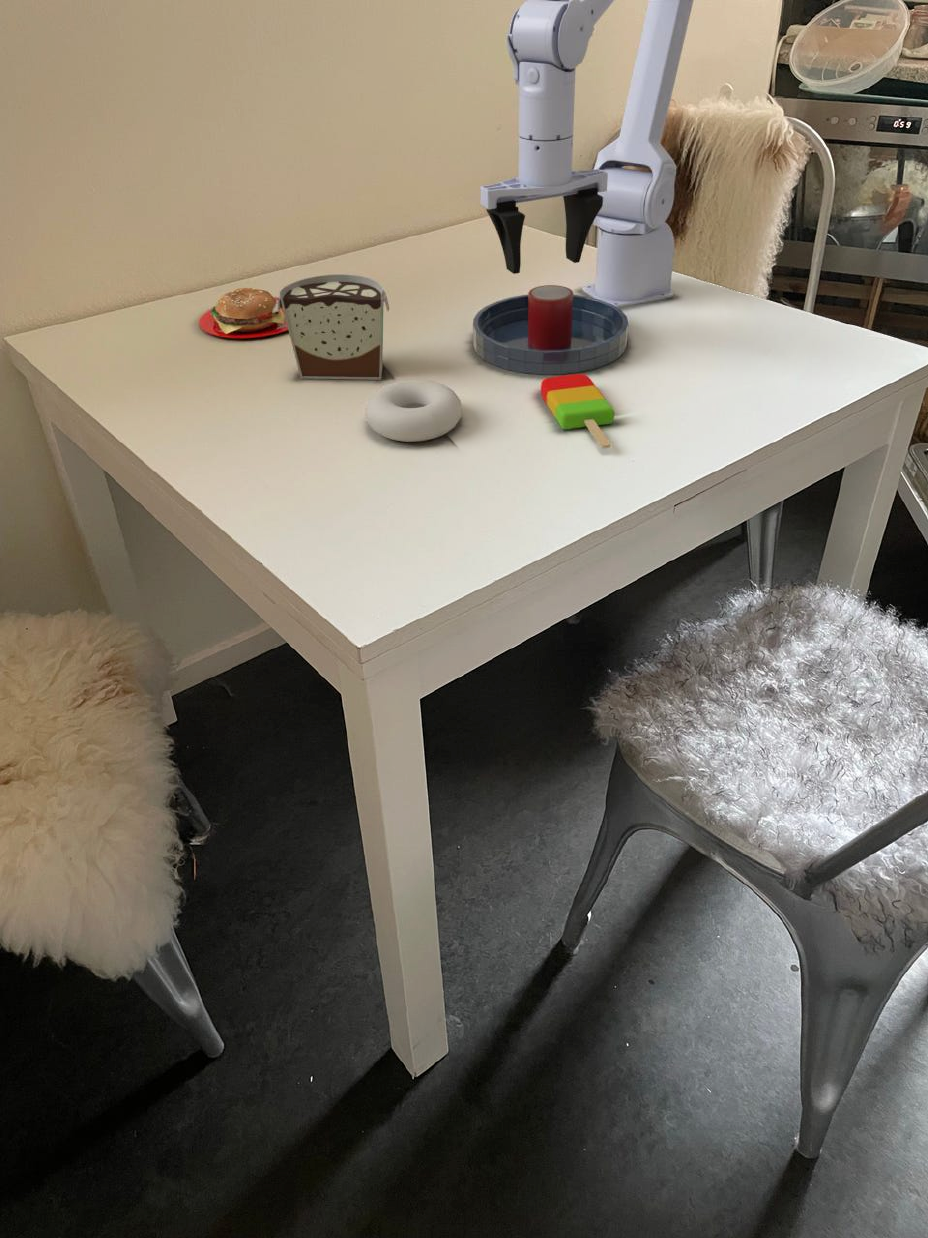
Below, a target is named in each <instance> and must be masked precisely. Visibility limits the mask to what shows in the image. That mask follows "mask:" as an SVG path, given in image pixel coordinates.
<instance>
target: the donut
mask: <svg viewBox="0 0 928 1238" xmlns="http://www.w3.org/2000/svg"><path fill="white" fill-rule="evenodd" d="M462 408H463V407H462V401H461V399H460V397H459V396H458V394H457V393H456V392H455V390H453V389H452V388H450V387H448V386H447V385H445V384H443V383H440V382H438V381H437V382H436V381H433V380H424V379H407V380H401V381H396V382H395V381H394V382H393V383H390V384H387V385H384V386H382V387H380V388H379V389H377V390H376V391H374V392H373V394H372V395H370V397H369V398H368V400H367V402H366V406H365V419H366V421H367V423H368V424H369V426H370V428H371V429H372V431H374V432H375V433H377V434H378V435H380V436H382V437H383V438H387V439H389V440H392V441H398V442H406V443H412V442H413V443H414V442H425V441H429V440H434V439H436V438H439V437H443V436H444V435H446V434H448V433H449V432H450V431H452V430H453V429H454V428H455V427H456V425H457V424H458V423H459V421H460V419H461V418H462V411H463V410H462Z"/></svg>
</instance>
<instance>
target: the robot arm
mask: <svg viewBox="0 0 928 1238" xmlns="http://www.w3.org/2000/svg"><path fill="white" fill-rule="evenodd" d="M614 1H615V0H526V1H524V2H523V3H522V4H521V5H520V6H519V7H517V8H516V10H515V11H514V13H513V14H512V17H511V19H510V22H509V23H510V24H509V29H508V34H507V35H506V45H507V51H508V55H509V57H510V60H511V61H512V65H513V80H515V81H514V83H515V85H517V86H518V176H517V177H513V178H510V179H506V180H502V181H500V182H496V183H492V184H488V185H482V186H481V185H480V188H479V189H480V206H482V207H483V208H485V210H486V213H487V215H488V216H489V218H490V220H491V222H492V224H493V226H494V228H495V231H496V234H497V237H498V239H499V242H500V245H501V249H502V253H503V257H504V261H505V262H504V263H505V267H506V270H507V271H509V272H510V273H512V275H513V274H514V275H516V274H521V273H520V272H521V265H522V264H521V263H522V262H521V260H522V259H521V257H522V256H521V244H522V235H523V228H524V223H525V218H526V215H525V214H524V213H523V212H521V211H520V210H519V206H517V204H520V203H526V202H533V201H539V200H540V201H541V200H546V199H554V198H559V197H562V198H563V204H564V211H565V213H564V214H565V258H566V259H567V260H568V261H570V262H572V263H574V264H577V263H580V261H581V258H582V254H583V250H584V247H585V244H586V241H587V238H588V235H589V232H590V229H591V228H592V225H593V226H594V227H598V228H597V229H598V230H597V245H596V246H597V247H596V251H597V252H596V265H595V281H594V282H595V284H591V285H584V286H582V289H581V290H582V292H584V293H585V294H587V295H588V296H589V297H591V298H595V299H599V300H602V301H605V302H607V303H610V304H612V305H614V306H616V307H617V308H619V309H620V308H624V307H628V306H634V305H638V304H639V305H640V304H643V303H649V302H653V301H659V300H664V299H669V298H673V297H674V293H673V292H672V291H671V285H672V276H673V267H674V266H673V265H674V258H675V238H674V233H673V230H672V228H671V227H670V225H669V224H668V223H667V222H666V221H667V219H668V218H669V216H670V214H671V212H672V209H673V205H674V201H675V182H676V177H677V176H676V175H677V165H676V162H674V159H673V158H672V156H671V155H670V154H669V152H668V151H667V150H666V149H665V147H664V146H663V144H662V139H663V134H664V129H665V126H666V122H667V121H666V120H667V116H668V112H669V108H670V105H671V99H672V95H673V90H674V86H675V82H676V79H677V75H678V74H677V73H678V69H679V65H680V60H681V56H682V52H683V49H684V44H685V40H686V34H687V30H688V26H689V22H690V17H691V14H692V9H693V4H694V0H648V2H647V7H646V11H645V16H644V20H643V26H642V30H641V35H640V40H639V44H638V49H637V53H636V58H635V63H634V66H633V72H632V76H631V81H630V86H629V90H628V95H627V99H626V103H625V109H624V113H623V118H622V123H621V126H620V127H621V128H620V131H619V136H618V137H617V138H616V139H615V140H614V141H612V142H611V143H609V144H607V145H606V146H605V147H604V148H602V149H601V150H599V152H598V153H597V157H596V160H595V164H594V168H593V169H583V170H573V154H574V153H573V150H574V148H573V147H574V122H575V121H574V119H575V98H576V97H575V95H576V94H575V93H576V70H577V69H576V68H577V67H579V65H581V64H582V63H583V61H584V59H585V57H586V54H587V50H588V46H589V42H590V39H591V37H592V36H593V32H594V31H595V27H594V26H595V25H596V23H598V21H599V20H600V19H601V17H603V15H604V14H605V13H606V12H607V10H608V9H609V8H610V6H611V5H612V4H613V3H614ZM623 167H624V168H623ZM625 167H633V168H640V169H641V168H642V169H649V170H651V171H646V170H645V171H644V170H637V169H630V168H625Z"/></svg>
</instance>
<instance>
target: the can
mask: <svg viewBox="0 0 928 1238" xmlns="http://www.w3.org/2000/svg"><path fill="white" fill-rule="evenodd" d="M573 294H574V291H573V290H572V289H571V288H570V287H567V286H564V285H557V284H556V285H555V284H546V285H538V286H535V287H533V288H531V289H530V290H529V291H528V294H527V295H528V345H529V346H530V347H532V348H534V349H538V350H562V349H565V348H567V347H569V346H570V345H571V339H572V314H573Z"/></svg>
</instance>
